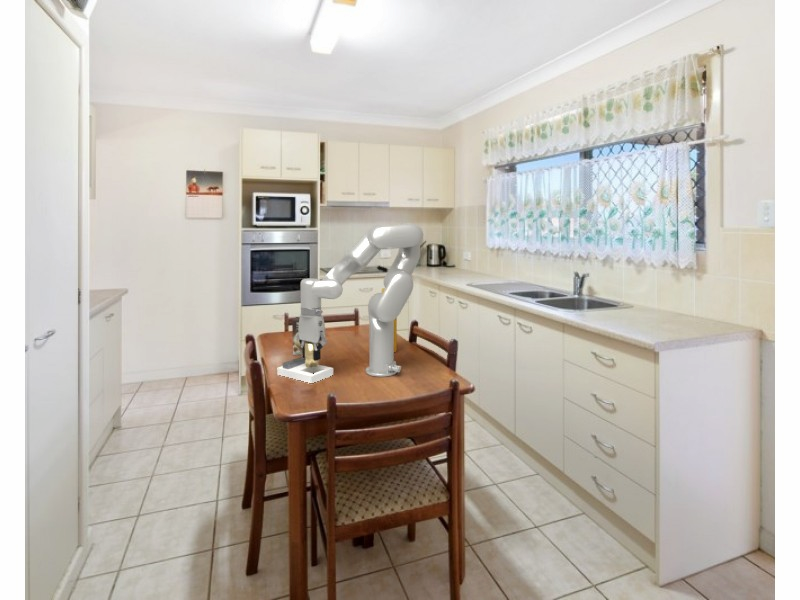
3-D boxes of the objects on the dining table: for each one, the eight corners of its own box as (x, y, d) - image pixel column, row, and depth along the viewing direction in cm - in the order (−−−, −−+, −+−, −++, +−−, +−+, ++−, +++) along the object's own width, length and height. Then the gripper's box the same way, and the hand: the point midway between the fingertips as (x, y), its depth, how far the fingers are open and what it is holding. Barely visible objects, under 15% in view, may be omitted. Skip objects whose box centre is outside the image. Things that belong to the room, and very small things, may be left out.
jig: (333, 375, 187) (333, 363, 186) (311, 384, 177) (311, 371, 176) (299, 367, 196) (299, 355, 195) (277, 375, 186) (276, 362, 186)
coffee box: (292, 355, 212) (291, 320, 210) (296, 351, 219) (295, 316, 216) (312, 356, 212) (311, 320, 209) (316, 352, 218) (315, 317, 215)
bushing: (320, 365, 184) (320, 342, 183) (311, 368, 180) (311, 345, 178) (311, 362, 187) (311, 340, 185) (302, 365, 183) (301, 342, 181)
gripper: (335, 313, 178) (335, 360, 181) (301, 307, 188) (302, 352, 191) (321, 316, 172) (321, 365, 175) (287, 310, 181) (288, 356, 184)
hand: (311, 358), depth 183 cm, fingers closed on bushing, 5 cm apart
